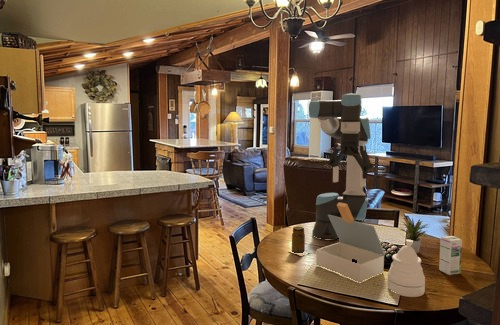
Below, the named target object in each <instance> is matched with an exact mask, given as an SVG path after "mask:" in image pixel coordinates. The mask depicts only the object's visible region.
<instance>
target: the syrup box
mask: <svg viewBox="0 0 500 325" xmlns="http://www.w3.org/2000/svg"><path fill="white" fill-rule="evenodd" d="M439 239H440V242H439V244H440V245H439V264H438V265H439V267H438V268H439V269H438V270H440V271H441V272H442V273H444V274H447V275H449V276H452V275H459V274H461V273H462V254H463V252H462V250H463V239H462V238H459V237H458V236H453V235H449V236H448V235H447V236H440V238H439Z"/></svg>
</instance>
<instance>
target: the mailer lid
mask: <svg viewBox="0 0 500 325" xmlns="http://www.w3.org/2000/svg"><path fill="white" fill-rule="evenodd" d="M337 207H338V209H339V211H340V214H341V216H342V218H341V217H337V216H333V215H328V217H329V219H330V221H331V223H332V225H333V227H334V229H335V232H336V234H337V236H338V238H339V239H338V240H339V242H342V243H346V244H349V245H352V246H355V247H358V248H361V249H364V250H368V251H371V252H374V253H377V254H380V255H383V256H384V257H385V256H386V253H385V251H384V248H383V246H382V244H381V240H380V238H379V235H378V234H377V231H376V228H375V226H374V225H372V224H368V223H365V222H360V221H357V220H354V219H353V216H352V214H351V212H350V209H349V207H348V205H347V204H345V203H341V202H339V203H338V204H337Z"/></svg>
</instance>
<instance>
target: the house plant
mask: <svg viewBox="0 0 500 325" xmlns="http://www.w3.org/2000/svg"><path fill="white" fill-rule="evenodd" d="M401 223H403V224H404V225H405V228H406V229H407V230H405V229H403V228H402V229H401V228H400V229H399V230H400V231H403V232H405V233H406V234H407V236H405V241H406V240H413V244H412V245H411V247H412V248H413V249H414V251H415V252H416V254H418V253H419V252H420V247H421V245H422V244H421V243H422V238H421V236H424V237H426V234H427V231H426V230H423V231H422V229H425V228H429V223H427V224H423V225H422V223H423V220H421V218H418V221H417V222H416V224H415V222H414V218H413V217H412V218H411V220H410V219H409V218H407V222H406V223H405V221H401ZM426 238H427V237H426ZM405 245H407V244H406V243H405Z"/></svg>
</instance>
